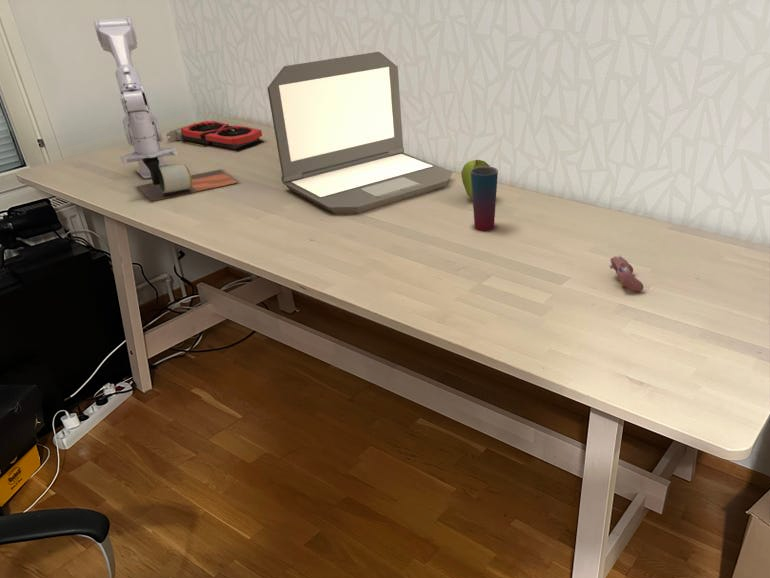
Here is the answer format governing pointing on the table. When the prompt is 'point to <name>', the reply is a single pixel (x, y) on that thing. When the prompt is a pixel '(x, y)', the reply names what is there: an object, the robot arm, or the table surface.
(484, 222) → the cup
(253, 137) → the graphics card
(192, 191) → the walnut board
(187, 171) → the ceramic mug
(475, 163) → the apple
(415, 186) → the laptop
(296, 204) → the table surface
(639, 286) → the reddish brown lumpy piece
